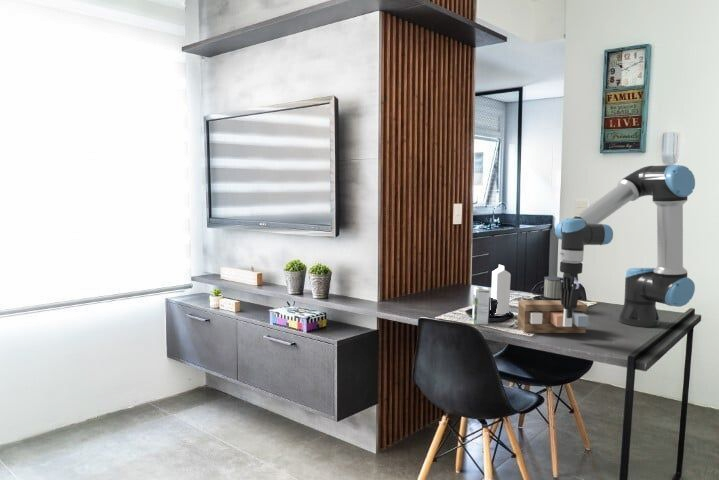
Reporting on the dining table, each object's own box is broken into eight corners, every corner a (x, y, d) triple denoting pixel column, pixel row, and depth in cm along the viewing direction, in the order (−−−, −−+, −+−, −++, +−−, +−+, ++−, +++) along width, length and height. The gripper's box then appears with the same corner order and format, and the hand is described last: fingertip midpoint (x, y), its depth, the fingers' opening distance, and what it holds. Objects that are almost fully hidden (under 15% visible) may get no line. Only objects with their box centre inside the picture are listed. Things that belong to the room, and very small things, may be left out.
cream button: (533, 318, 218) (533, 308, 218) (542, 323, 209) (542, 313, 209) (523, 318, 218) (523, 308, 218) (531, 323, 209) (532, 313, 209)
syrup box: (471, 321, 229) (472, 286, 227) (486, 321, 228) (487, 286, 227) (474, 324, 223) (475, 289, 222) (488, 324, 223) (490, 289, 221)
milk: (503, 313, 243) (505, 264, 241) (508, 317, 237) (511, 266, 235) (489, 314, 242) (492, 264, 240) (495, 317, 236) (497, 266, 234)
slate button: (577, 320, 215) (578, 310, 215) (588, 326, 206) (588, 316, 206) (567, 320, 215) (568, 310, 215) (577, 326, 206) (578, 316, 206)
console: (576, 327, 221) (577, 300, 220) (585, 332, 213) (587, 304, 212) (517, 327, 219) (518, 300, 218) (524, 332, 212) (525, 304, 210)
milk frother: (568, 312, 248) (569, 279, 247) (536, 313, 245) (538, 280, 243) (550, 305, 262) (551, 274, 261) (519, 306, 258) (521, 275, 257)
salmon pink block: (557, 320, 215) (557, 310, 214) (567, 326, 206) (567, 316, 206) (547, 320, 215) (547, 310, 214) (556, 326, 206) (557, 316, 205)
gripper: (553, 259, 205) (550, 321, 207) (569, 263, 192) (564, 330, 194) (573, 259, 205) (569, 321, 207) (590, 264, 192) (585, 331, 194)
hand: (567, 326), depth 201 cm, fingers closed
